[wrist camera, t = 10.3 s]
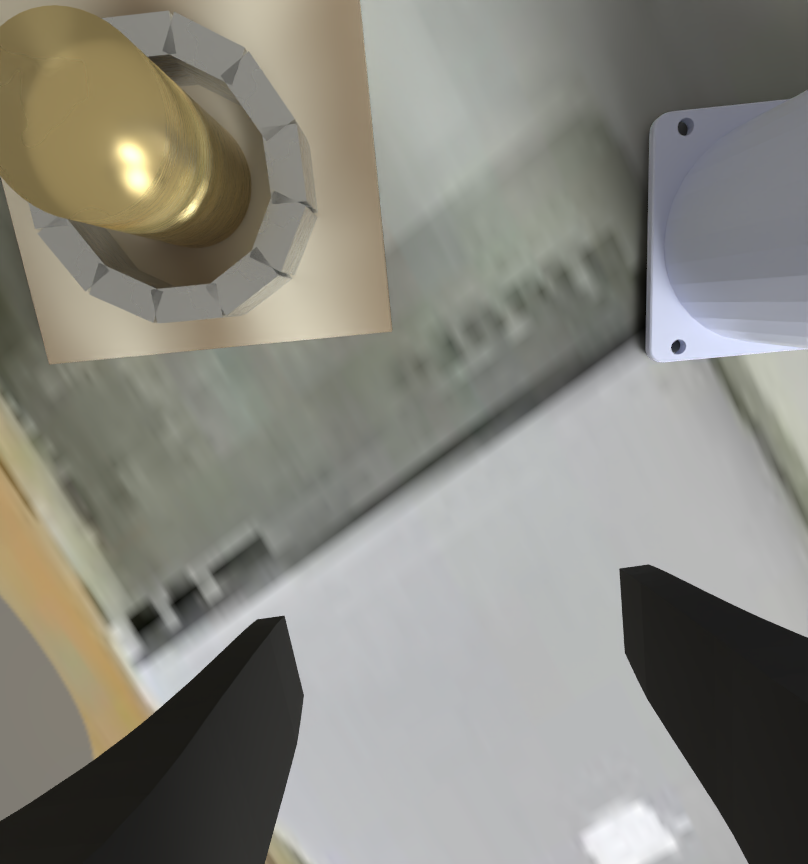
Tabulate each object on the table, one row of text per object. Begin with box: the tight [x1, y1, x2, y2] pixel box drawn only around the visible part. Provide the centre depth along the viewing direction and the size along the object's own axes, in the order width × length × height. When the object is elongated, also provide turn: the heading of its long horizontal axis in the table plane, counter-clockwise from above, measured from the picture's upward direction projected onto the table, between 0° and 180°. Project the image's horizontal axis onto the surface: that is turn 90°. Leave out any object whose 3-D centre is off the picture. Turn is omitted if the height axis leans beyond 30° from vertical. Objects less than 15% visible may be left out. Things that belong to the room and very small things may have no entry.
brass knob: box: [0, 5, 251, 248], centre depth 14 cm, size 4×4×6 cm
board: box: [0, 0, 392, 364], centre depth 16 cm, size 12×20×1 cm, turn 5°
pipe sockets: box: [28, 11, 318, 324], centre depth 15 cm, size 8×15×2 cm, turn 5°
